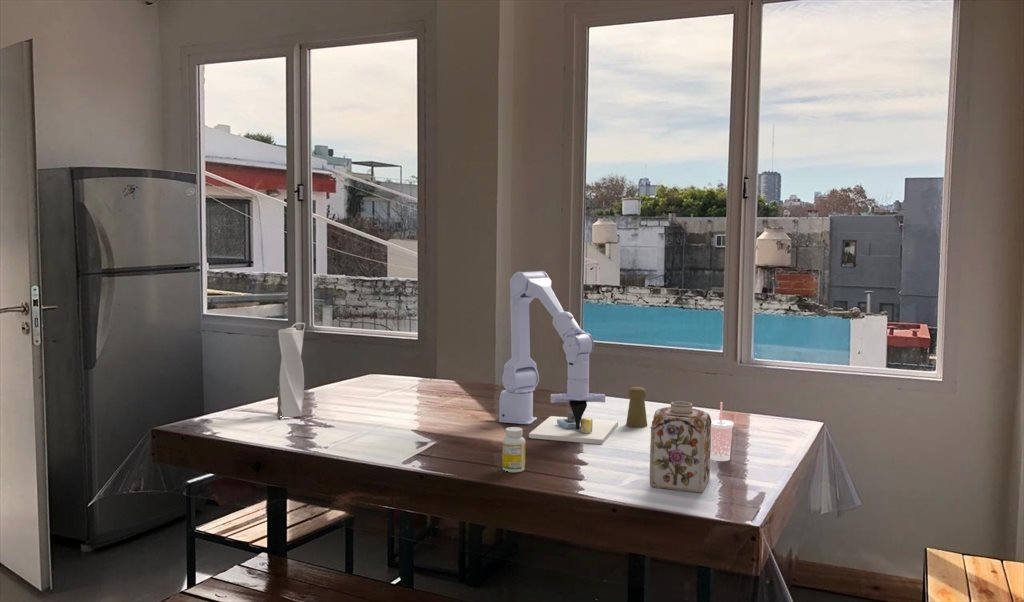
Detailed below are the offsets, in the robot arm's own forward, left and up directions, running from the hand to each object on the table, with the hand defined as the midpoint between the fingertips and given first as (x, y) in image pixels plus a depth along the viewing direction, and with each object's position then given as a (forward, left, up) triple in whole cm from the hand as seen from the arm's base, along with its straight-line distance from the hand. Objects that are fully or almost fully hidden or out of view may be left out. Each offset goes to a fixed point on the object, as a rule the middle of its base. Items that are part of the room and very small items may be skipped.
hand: (577, 428), depth 222 cm
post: (-3, +7, -2) cm, 8 cm away
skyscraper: (-86, -3, -3) cm, 86 cm away
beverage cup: (+38, -9, -3) cm, 39 cm away
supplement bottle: (-7, -34, -3) cm, 35 cm away
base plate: (-2, +6, -2) cm, 7 cm away
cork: (+13, +19, -3) cm, 23 cm away
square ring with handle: (-1, +5, -1) cm, 5 cm away
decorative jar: (+31, -32, -3) cm, 45 cm away
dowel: (+2, +4, -2) cm, 5 cm away
